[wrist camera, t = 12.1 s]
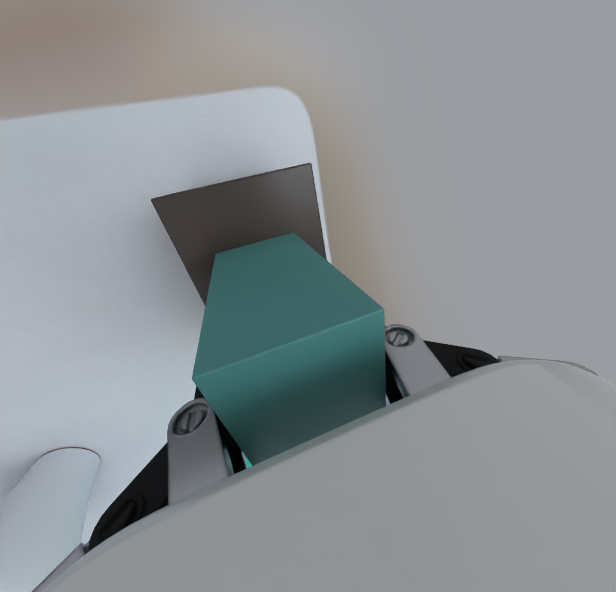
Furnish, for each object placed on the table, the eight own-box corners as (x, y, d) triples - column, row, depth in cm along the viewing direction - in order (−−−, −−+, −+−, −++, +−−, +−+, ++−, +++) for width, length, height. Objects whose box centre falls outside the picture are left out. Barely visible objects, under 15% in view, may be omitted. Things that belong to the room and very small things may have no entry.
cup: (139, 462, 31) (86, 630, 19) (57, 499, 29) (-54, 704, 18) (83, 421, 25) (-37, 619, 14) (-22, 463, 24) (-253, 723, 12)
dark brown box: (186, 190, 19) (149, 198, 10) (277, 169, 20) (311, 162, 12) (239, 314, 25) (244, 381, 17) (305, 292, 27) (340, 345, 18)
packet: (215, 253, 12) (190, 379, 5) (293, 231, 13) (385, 308, 5) (254, 346, 16) (278, 504, 8) (314, 325, 16) (387, 451, 9)
